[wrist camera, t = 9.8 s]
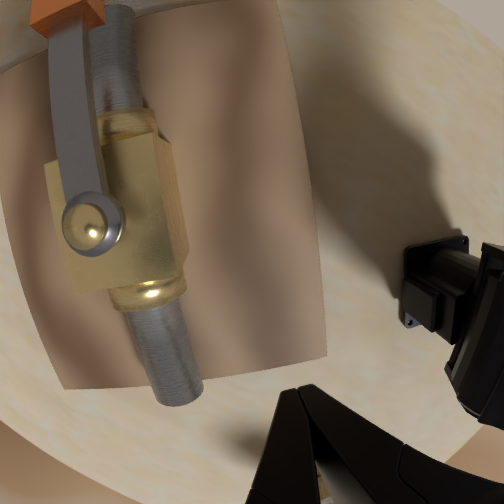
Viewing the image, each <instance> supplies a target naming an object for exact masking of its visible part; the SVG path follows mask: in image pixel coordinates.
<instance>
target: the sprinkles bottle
mask: <svg viewBox="0 0 504 504" xmlns="http://www.w3.org/2000/svg"><path fill="white" fill-rule="evenodd" d="M318 484H319V492H320V500H321V504H334V502H333V500H332V498H331V496H330V494H329V492H328V490H327V487H326V485H325V483H324V481H323V479H322V477H321V476H319V477H318Z"/></svg>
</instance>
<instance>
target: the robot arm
mask: <svg viewBox="0 0 504 504" xmlns="http://www.w3.org/2000/svg"><path fill="white" fill-rule="evenodd" d="M463 240H464V242H463ZM411 251H412V254H411V256H409V253H410V252H411ZM481 251H482V255H481V259H480V258H478V257H475V256H472V255H470V254H469V238H468V237H467V236H465V235H459V236H455V237H450V238H446V239H441V240H437V241H432V242H427V243H423V244H418V245H413V246H409V247H407V248H406V249H405V250H404V277H403V288H402V309H403V325H404V326H405V327H406V328H412V327H416V326H419V325H423V326H424V327H425V328H426V329H428V330H429V331H430V332H431V333H433V332H436V333H437V334H438V335H440V336H441V337H442V338H443V339H445V340H446V341H447V342H448V343H449V344H451V345H454V344H455V346H454V349H453V352H452V354H451V357H450V359H449V361H448V362H447V363H446V366H445V368H444V370H445V372H446V374H447V376H448V378H449V380H450V382H451V384H452V386H453V388H454V390H455V393H456V395H457V399H458V401H459V402H460V403H461V405H462V407H463V408H464V409H465V411H466V412H467V413H469V414H470V415H472V416H473V417H475V418H477V419H478V420H477V421H478V422H479V423H482V424H486V425H490V426H494V427H496V428H499V429H501V430H504V246H499V245H495V244H490V243H485V242H483V243H482V248H481ZM409 320H410V322H409V323H408V321H409ZM316 465H317V468H318V470H319V472H320V474H321V477H322V479H323V481H324V483H325V485H326V487H327V490H328V492H329V494H330V496H331V498H332V500H333V502H334V504H504V484H502V483H498V482H494V481H491V480H488V479H484V478H482V477H479V476H476V475H473V474H470V473H467V472H464V471H462V470H459V469H456V468H454V467H451V466H449V465H446V464H444V463H442V462H439V461H437V460H435V459H433V458H431V457H429V456H427V455H425V454H423V453H421V452H419V451H418V450H416V449H414V448H412V447H411V446H409V445H407V444H404V443H403V442H402V441H400V440H399V439H397V438H395V437H394V436H392V435H390V434H389V433H387V432H386V431H384V430H382V429H381V428H379V427H378V426H376V425H374V424H373V423H371V422H370V421H368V420H366V419H365V418H363V417H362V416H360V415H359V414H357V413H356V412H354V411H352V410H351V409H349V408H348V407H346V406H345V405H343V404H342V403H340V402H339V401H337V400H336V399H334V398H333V397H331V396H330V395H328V394H327V393H325V392H324V391H323V390H321V389H320V388H318V387H317V386H315V385H314V384H308V385H304V386H300V387H298V389H296V388H292V389H288V390H284V391H282V392H281V393H280V396H279V399H278V403H277V406H276V410H275V413H274V416H273V420H272V423H271V427H270V430H269V433H268V436H267V440H266V443H265V446H264V449H263V452H262V456H261V459H260V462H259V465H258V468H257V471H256V474H255V477H254V480H253V483H252V486H251V488H252V489H250V491H249V494H248V497H247V500H246V502H245V504H321V500H320V492H319V484H318V477H317V470H316Z"/></svg>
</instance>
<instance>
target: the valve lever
mask: <svg viewBox="0 0 504 504" xmlns="http://www.w3.org/2000/svg"><path fill="white" fill-rule="evenodd" d="M102 25H105V4H104V0H32V1H31V10H30V21H29V26H30V27H32V28H33V29H35V30H36V31H37V32H39V33H40V34H42V35H43V36H44V37H46V38H47V39H48V62H49V86H50V101H51V112H52V122H53V130H54V138H55V146H56V152H57V159H58V165H59V171H60V176H61V182H62V187H63V192H64V197H65V201H66V207H65V209H64V211H63V215H62V223H61V225H62V232H63V235H64V238H65V240H66V242H67V243H68V245H69V246H70V247H71V248H72V249H73V250H74V251H75V252H76V253H78V254H80V255H82V256H86V257H97V256H100V255H102V254H104V253H106V252H107V251H108V250H110V249H111V248H113V247H114V246H116V245H117V244H118V243H119V241H120V240H121V239H122V237H123V235H124V232H125V229H126V214H125V211H124V208H123V206H122V204H121V202H120V201H119V200H118V199H117V198H116V197H115V196H114V195H112V194H111V193H110V191H109V186H108V181H107V176H106V171H105V166H104V160H103V155H102V149H101V143H100V137H99V130H98V124H97V117H96V109H95V101H94V93H93V83H92V73H91V61H90V46H89V30H91V29H94V28H96V27H99V26H102Z"/></svg>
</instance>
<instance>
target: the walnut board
mask: <svg viewBox="0 0 504 504" xmlns="http://www.w3.org/2000/svg"><path fill="white" fill-rule="evenodd" d="M135 23H136V39H137V52H138V63H139V74H140V83H141V92H142V101H143V108H149V109H152V110H154V111H155V114H156V121H157V128H158V135H159V137H160V138H161V139H163V140H164V141H166V142H168V143H169V144H171V145H172V151H173V157H174V163H175V169H176V175H177V181H178V187H179V192H180V198H181V203H182V209H183V214H184V219H185V225H186V230H187V235H188V240H189V245H190V251H189V253H188V255H187V258H186V260H185V263H184V265H183V270H184V274H185V279H186V283H187V291H186V292H185V293H184V294H183V295H182V296H180V297H179V300H180V304H181V308H182V312H183V315H184V319H185V323H186V327H187V330H188V334H189V338H190V341H191V345H192V348H193V352H194V355H195V359H196V362H197V366H198V369H199V373H200V376H201V379H202V380H205V379H212V378H219V377H225V376H232V375H238V374H244V373H250V372H255V371H261V370H266V369H271V368H276V367H281V366H286V365H291V364H296V363H300V362H305V361H309V360H313V359H318V358H322V357H326V356H327V343H326V327H325V313H324V300H323V288H322V277H321V266H320V256H319V247H318V238H317V229H316V220H315V212H314V204H313V197H312V189H311V182H310V175H309V168H308V161H307V155H306V148H305V142H304V136H303V130H302V124H301V118H300V112H299V107H298V101H297V96H296V90H295V85H294V80H293V75H292V70H291V65H290V60H289V55H288V51H287V46H286V42H285V37H284V33H283V28H282V24H281V20H280V15H279V11H278V7H277V3H276V0H225V1H217V2H209V3H202V4H196V5H190V6H185V7H179V8H174V9H169V10H165V11H160V12H156V13H152V14H148V15H144V16H140V17H136V18H135ZM55 160H58V159H57V152H56V146H55V138H54V130H53V122H52V112H51V101H50V86H49V62H48V49H47V50H45V51H43V52H41V53H39V54H37V55H35V56H33V57H31V58H29V59H27V60H25V61H23V62H21V63H19V64H17V65H15V66H13V67H12V68H10V69H8V70H6V71H5V72H3V73H1V74H0V194H1V200H2V206H3V212H4V217H5V222H6V227H7V232H8V236H9V241H10V245H11V249H12V253H13V257H14V260H15V264H16V268H17V271H18V275H19V278H20V281H21V285H22V288H23V291H24V294H25V297H26V300H27V303H28V306H29V309H30V312H31V314H32V317H33V320H34V322H35V325H36V328H37V330H38V333H39V335H40V338H41V340H42V343H43V345H44V347H45V350H46V352H47V354H48V356H49V359H50V361H51V363H52V365H53V367H54V370H55V372H56V374H57V376H58V378H59V380H60V382H61V384H62V386H63V388H64V389H104V388H124V387H138V386H151V384H150V382H149V379H148V377H147V374H146V372H145V369H144V366H143V364H142V361H141V358H140V356H139V353H138V350H137V347H136V344H135V341H134V339H133V336H132V333H131V330H130V327H129V324H128V321H127V317H126V314H125V312H121V311H117V310H115V309H114V308H113V307H112V305H111V301H110V298H109V295H108V291H107V289H103V290H97V291H91V292H85V293H78V294H73V293H72V290H71V287H70V283H69V280H68V277H67V273H66V270H65V266H64V262H63V259H62V255H61V251H60V247H59V243H58V239H57V234H56V230H55V225H54V221H53V216H52V211H51V206H50V200H49V195H48V189H47V182H46V176H45V169H44V164H47V163H50V162H53V161H55Z"/></svg>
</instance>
